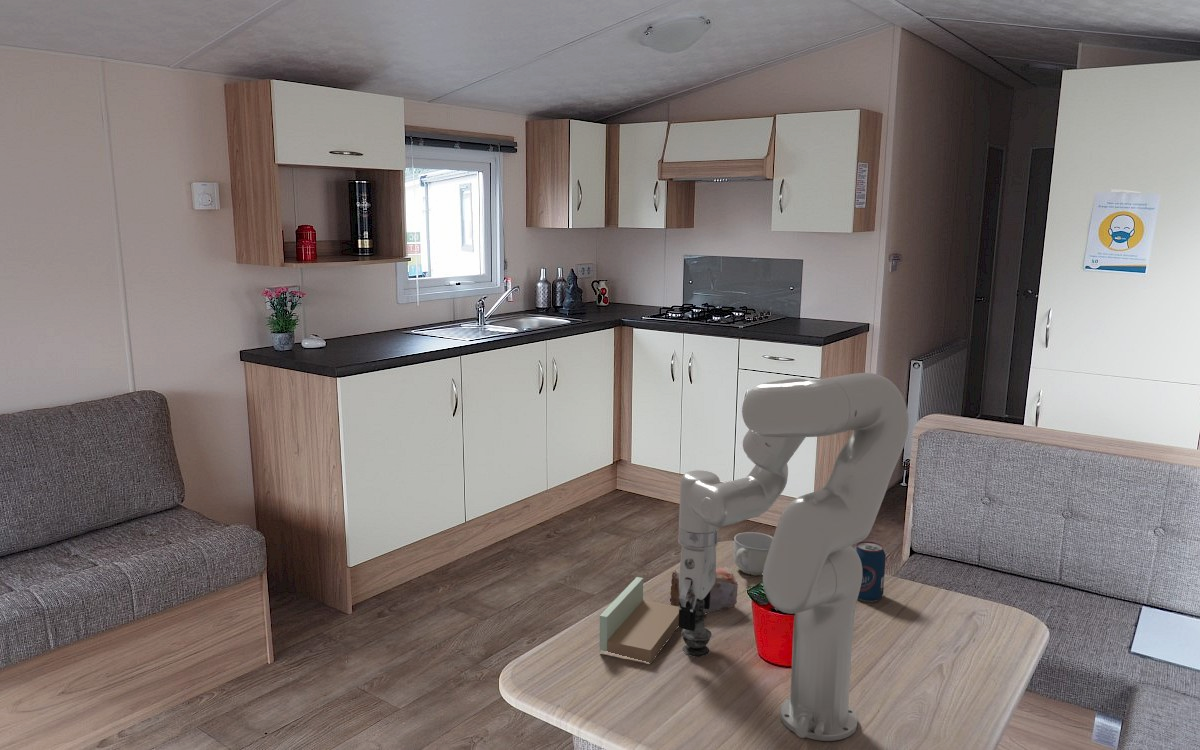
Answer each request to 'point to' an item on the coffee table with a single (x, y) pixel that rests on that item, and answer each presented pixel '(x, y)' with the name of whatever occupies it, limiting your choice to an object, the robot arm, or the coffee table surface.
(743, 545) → the teacup
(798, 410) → the robot arm
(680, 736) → the coffee table surface
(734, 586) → the food item
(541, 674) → the coffee table surface
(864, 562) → the soda can
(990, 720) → the coffee table surface
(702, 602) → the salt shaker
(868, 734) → the coffee table surface
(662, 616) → the cleat board
